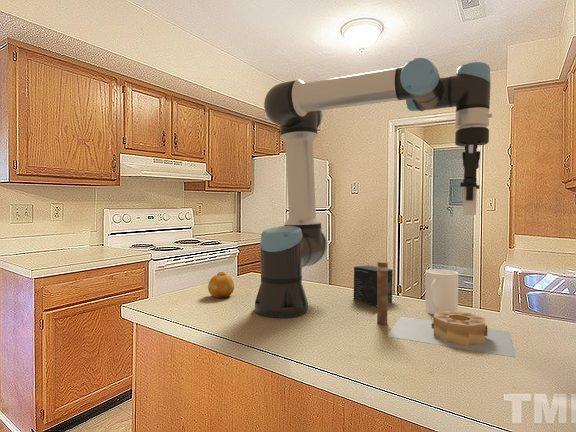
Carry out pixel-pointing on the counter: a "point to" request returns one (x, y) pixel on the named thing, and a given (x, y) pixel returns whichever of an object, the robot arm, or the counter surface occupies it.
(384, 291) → the brown cigar
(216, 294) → the fruit
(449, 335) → the bead
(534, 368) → the counter surface
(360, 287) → the box
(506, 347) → the board
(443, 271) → the mug
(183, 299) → the counter surface
